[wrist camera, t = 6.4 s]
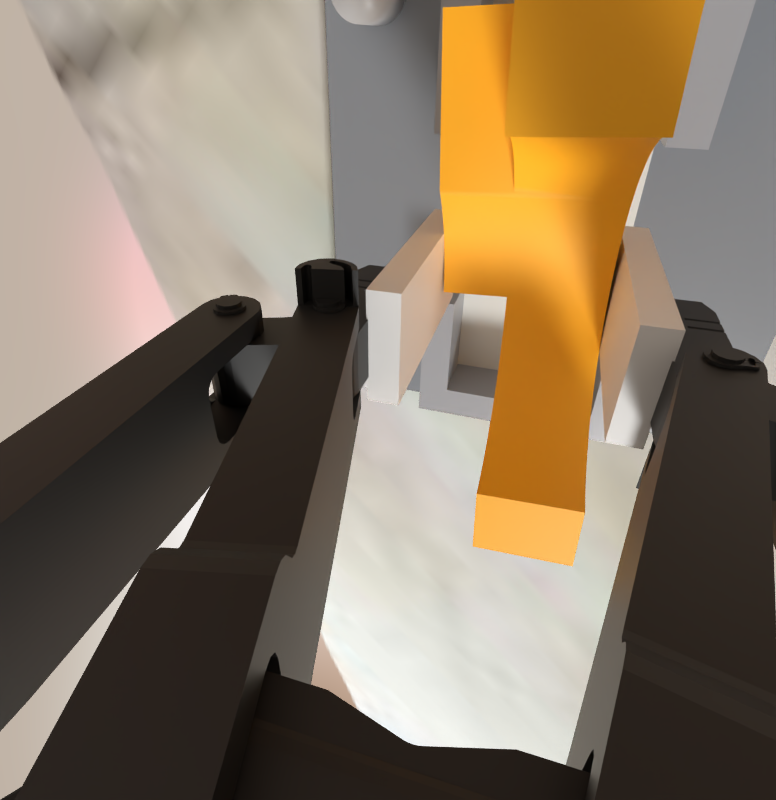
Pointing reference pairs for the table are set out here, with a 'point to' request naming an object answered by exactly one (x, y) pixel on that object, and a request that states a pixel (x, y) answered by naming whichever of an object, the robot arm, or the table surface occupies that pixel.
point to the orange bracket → (549, 222)
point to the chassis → (651, 207)
